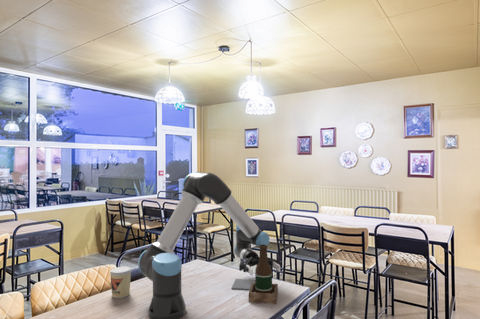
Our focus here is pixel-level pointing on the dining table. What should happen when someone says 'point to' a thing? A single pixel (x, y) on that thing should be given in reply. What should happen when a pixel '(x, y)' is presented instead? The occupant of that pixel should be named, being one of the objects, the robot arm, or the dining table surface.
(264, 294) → the caddy
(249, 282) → the coaster
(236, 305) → the dining table surface
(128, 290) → the coffee cup
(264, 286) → the beer bottle
